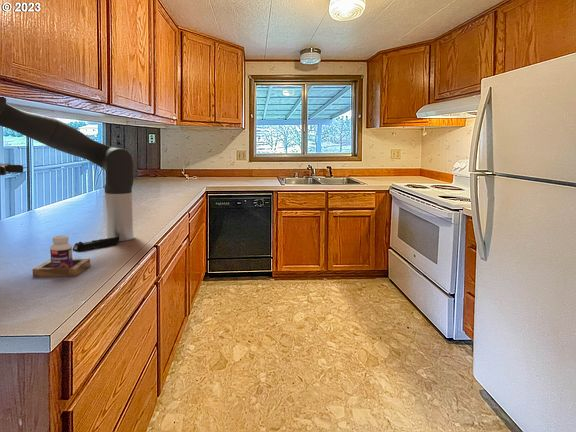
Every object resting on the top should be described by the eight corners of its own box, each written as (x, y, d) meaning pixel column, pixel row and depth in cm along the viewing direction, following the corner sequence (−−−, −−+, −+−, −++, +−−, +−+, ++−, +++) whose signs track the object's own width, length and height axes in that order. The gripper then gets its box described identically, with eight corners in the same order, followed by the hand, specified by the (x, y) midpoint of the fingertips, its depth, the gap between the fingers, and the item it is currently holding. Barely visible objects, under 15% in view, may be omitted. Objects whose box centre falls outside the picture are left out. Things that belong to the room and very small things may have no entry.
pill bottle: (49, 273, 125) (46, 239, 124) (54, 268, 130) (52, 235, 129) (70, 273, 126) (68, 238, 125) (75, 267, 132) (73, 234, 130)
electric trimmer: (121, 246, 161) (121, 237, 160) (77, 253, 149) (76, 243, 149) (116, 244, 163) (116, 235, 163) (72, 251, 152) (71, 241, 151)
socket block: (51, 265, 134) (51, 258, 133) (90, 265, 134) (90, 258, 134) (32, 276, 123) (32, 269, 122) (74, 276, 123) (74, 269, 123)
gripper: (-69, 155, 115) (-3, 156, 116) (-33, 153, 129) (26, 154, 130) (-66, 185, 116) (0, 186, 117) (-30, 180, 130) (28, 181, 131)
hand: (14, 169), depth 123 cm, fingers open, 8 cm apart
